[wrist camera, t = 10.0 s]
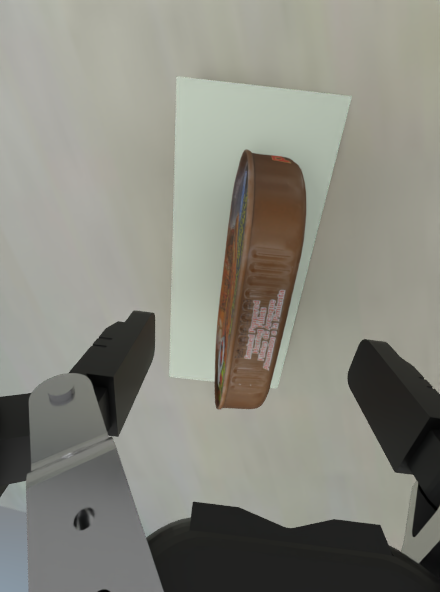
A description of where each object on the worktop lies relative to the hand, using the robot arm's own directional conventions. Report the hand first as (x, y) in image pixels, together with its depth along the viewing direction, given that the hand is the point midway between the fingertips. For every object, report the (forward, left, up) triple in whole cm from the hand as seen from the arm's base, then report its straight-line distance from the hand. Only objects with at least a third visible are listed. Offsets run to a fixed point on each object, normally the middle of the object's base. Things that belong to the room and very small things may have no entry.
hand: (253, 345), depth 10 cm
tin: (0, 0, -10) cm, 10 cm away
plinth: (0, 0, -15) cm, 15 cm away
